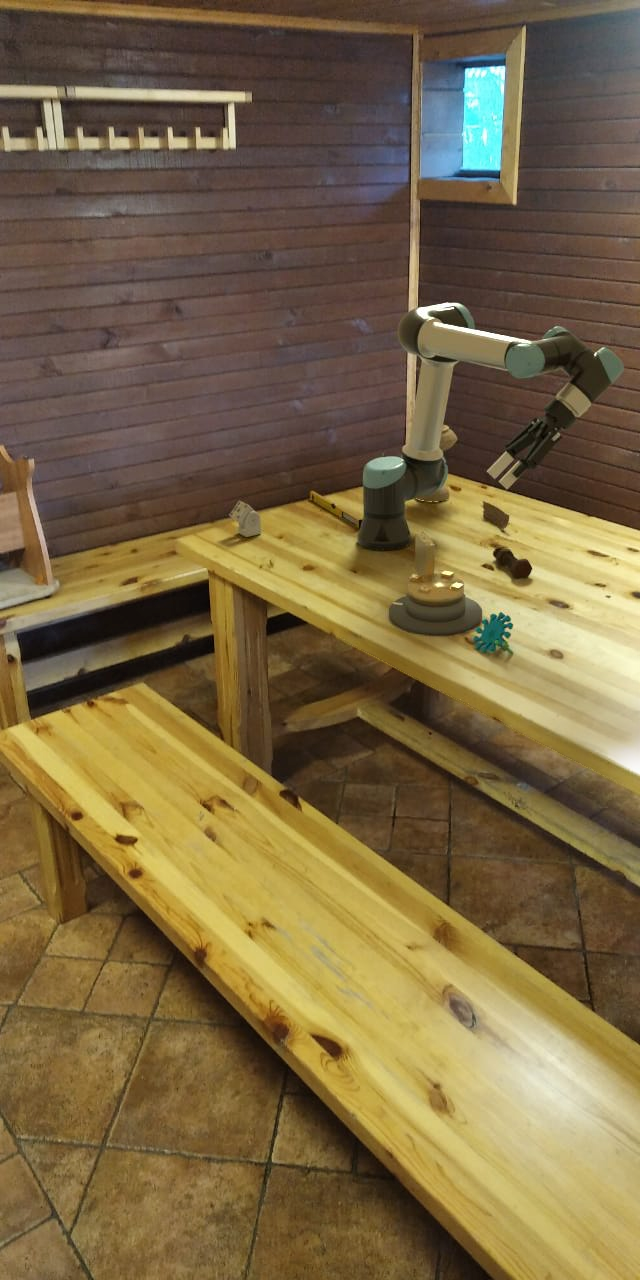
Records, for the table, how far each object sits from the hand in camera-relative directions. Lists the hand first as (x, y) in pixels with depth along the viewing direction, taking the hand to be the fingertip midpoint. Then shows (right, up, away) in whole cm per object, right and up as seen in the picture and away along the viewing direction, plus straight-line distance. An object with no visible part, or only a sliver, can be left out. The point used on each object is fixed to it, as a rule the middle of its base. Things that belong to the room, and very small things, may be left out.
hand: (496, 480), depth 233 cm
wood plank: (+10, -4, +58) cm, 59 cm away
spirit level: (-37, +1, +72) cm, 81 cm away
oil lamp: (-6, +8, +83) cm, 83 cm away
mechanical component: (-64, -7, +55) cm, 85 cm away
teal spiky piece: (-4, -40, -16) cm, 43 cm away
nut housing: (-15, -32, 0) cm, 35 cm away
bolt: (+8, -20, +26) cm, 34 cm away
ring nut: (-15, -26, +2) cm, 30 cm away
